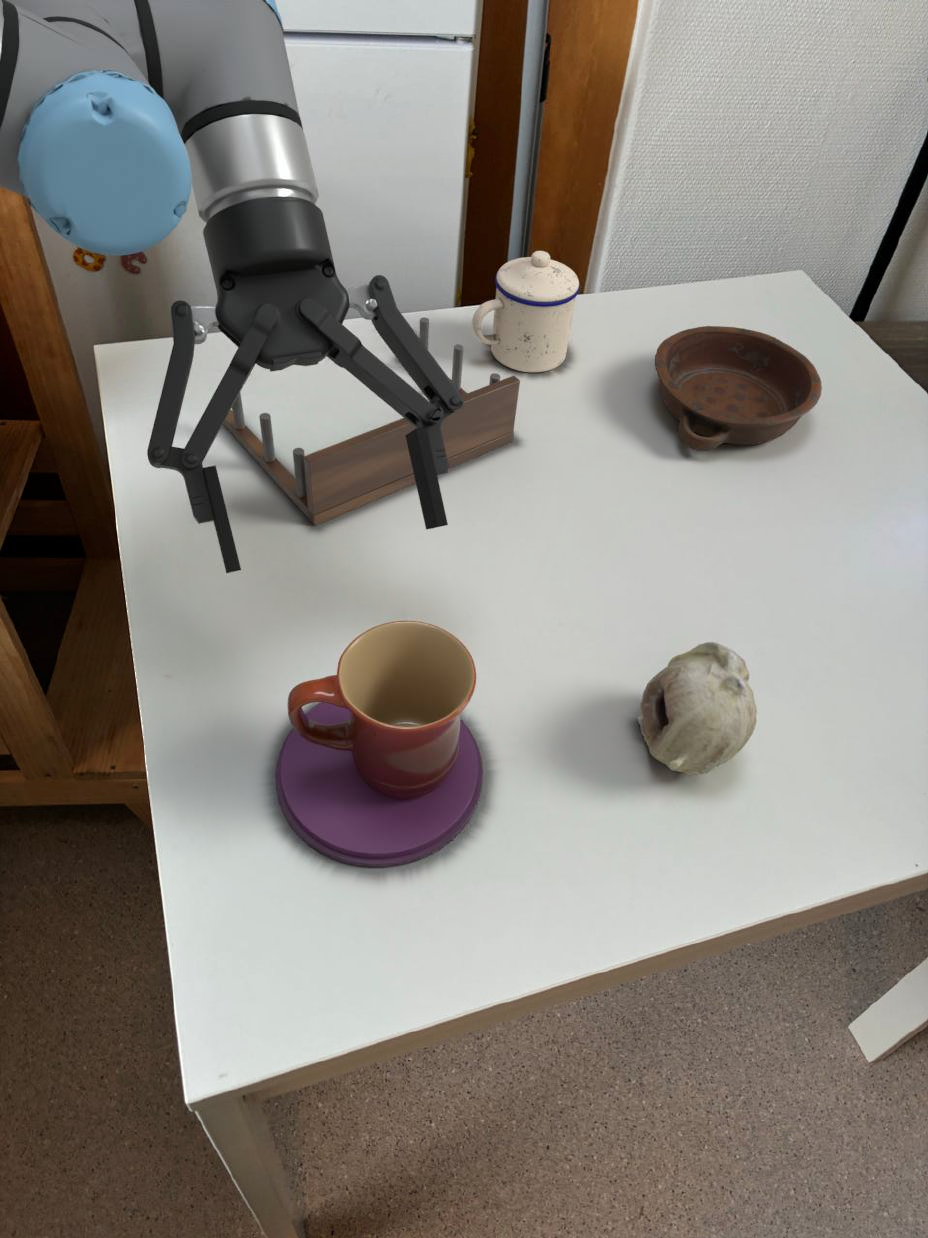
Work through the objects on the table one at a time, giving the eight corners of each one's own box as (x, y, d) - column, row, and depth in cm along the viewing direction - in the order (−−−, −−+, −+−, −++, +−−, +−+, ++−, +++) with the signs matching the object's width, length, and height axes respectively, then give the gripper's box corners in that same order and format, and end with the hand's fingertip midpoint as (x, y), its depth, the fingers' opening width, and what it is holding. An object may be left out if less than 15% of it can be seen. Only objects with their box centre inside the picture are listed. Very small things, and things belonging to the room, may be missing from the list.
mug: (455, 705, 68) (464, 615, 60) (475, 808, 62) (487, 722, 55) (294, 720, 66) (282, 629, 58) (298, 827, 60) (286, 741, 53)
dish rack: (221, 422, 91) (211, 360, 85) (411, 356, 101) (413, 296, 95) (315, 525, 82) (310, 463, 76) (513, 441, 92) (521, 380, 86)
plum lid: (238, 749, 65) (236, 740, 65) (406, 660, 72) (406, 651, 71) (347, 909, 58) (347, 902, 57) (523, 794, 65) (525, 785, 64)
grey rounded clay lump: (668, 713, 73) (706, 607, 68) (758, 771, 68) (806, 661, 64) (597, 750, 67) (633, 636, 62) (691, 817, 62) (738, 699, 57)
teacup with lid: (542, 324, 107) (556, 228, 98) (582, 365, 102) (601, 267, 93) (452, 344, 103) (458, 245, 94) (489, 387, 98) (499, 287, 89)
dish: (608, 427, 94) (617, 386, 91) (690, 337, 107) (701, 299, 103) (766, 493, 89) (783, 453, 85) (833, 390, 102) (850, 351, 98)
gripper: (432, 217, 63) (495, 514, 66) (57, 259, 56) (142, 591, 58) (465, 171, 56) (534, 505, 58) (40, 212, 49) (138, 592, 51)
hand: (338, 549), depth 58 cm, fingers open, 13 cm apart
